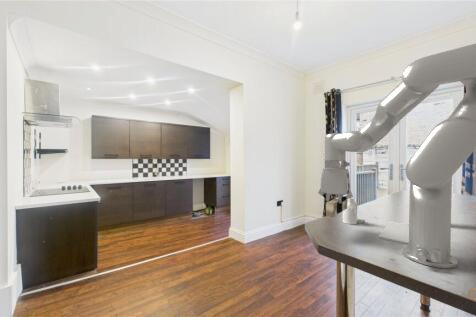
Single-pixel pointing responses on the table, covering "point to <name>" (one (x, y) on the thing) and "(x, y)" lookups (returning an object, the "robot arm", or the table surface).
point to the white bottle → (350, 212)
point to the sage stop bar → (357, 220)
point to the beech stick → (334, 207)
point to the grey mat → (396, 232)
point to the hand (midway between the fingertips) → (334, 211)
